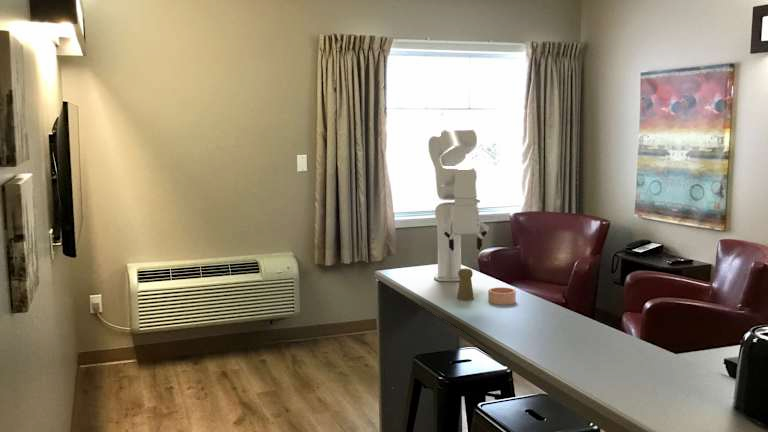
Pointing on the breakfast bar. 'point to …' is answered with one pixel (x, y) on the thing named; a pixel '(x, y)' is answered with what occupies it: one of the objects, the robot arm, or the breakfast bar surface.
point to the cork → (465, 285)
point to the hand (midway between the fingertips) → (465, 249)
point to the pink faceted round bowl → (502, 296)
